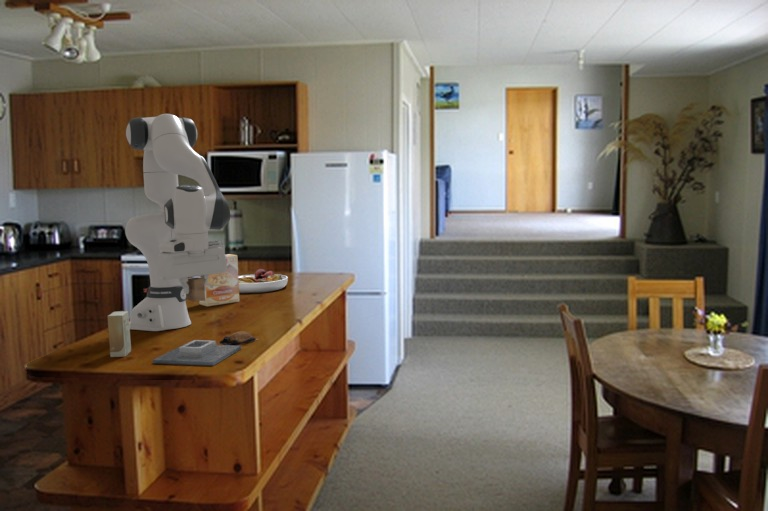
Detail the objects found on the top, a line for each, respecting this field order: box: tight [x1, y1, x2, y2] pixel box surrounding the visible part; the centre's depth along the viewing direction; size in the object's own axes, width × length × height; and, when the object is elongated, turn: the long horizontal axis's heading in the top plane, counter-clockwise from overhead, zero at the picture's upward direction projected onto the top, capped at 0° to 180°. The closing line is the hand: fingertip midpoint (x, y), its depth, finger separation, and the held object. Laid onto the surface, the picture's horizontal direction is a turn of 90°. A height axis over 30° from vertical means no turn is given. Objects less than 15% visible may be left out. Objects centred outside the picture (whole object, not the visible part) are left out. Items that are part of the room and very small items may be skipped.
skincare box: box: [107, 310, 132, 358], centre depth 194 cm, size 6×4×12 cm
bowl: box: [238, 268, 289, 294], centre depth 311 cm, size 30×30×8 cm
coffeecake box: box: [197, 253, 240, 307], centre depth 274 cm, size 15×7×20 cm, turn 131°
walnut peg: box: [186, 276, 205, 302], centre depth 189 cm, size 5×3×6 cm, turn 48°
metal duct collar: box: [152, 339, 242, 367], centre depth 191 cm, size 18×18×4 cm
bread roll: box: [218, 330, 260, 346], centre depth 207 cm, size 11×8×4 cm
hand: (195, 292), depth 189 cm, fingers closed on walnut peg, 3 cm apart
